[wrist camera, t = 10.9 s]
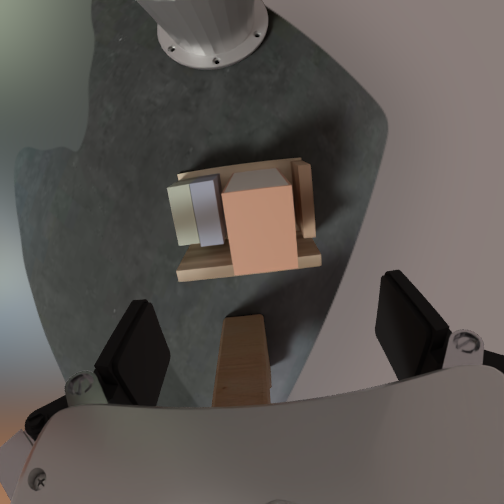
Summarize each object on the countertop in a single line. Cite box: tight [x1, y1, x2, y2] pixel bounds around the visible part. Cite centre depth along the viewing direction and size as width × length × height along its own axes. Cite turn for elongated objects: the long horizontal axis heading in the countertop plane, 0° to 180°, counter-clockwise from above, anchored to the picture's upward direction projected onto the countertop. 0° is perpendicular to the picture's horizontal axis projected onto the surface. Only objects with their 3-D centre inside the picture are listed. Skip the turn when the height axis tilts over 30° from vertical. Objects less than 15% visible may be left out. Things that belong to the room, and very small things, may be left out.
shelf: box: [167, 158, 321, 282], centre depth 29 cm, size 10×14×8 cm
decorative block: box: [212, 314, 272, 407], centre depth 32 cm, size 11×6×20 cm, turn 6°
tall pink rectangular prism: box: [221, 168, 298, 275], centre depth 27 cm, size 6×5×12 cm
